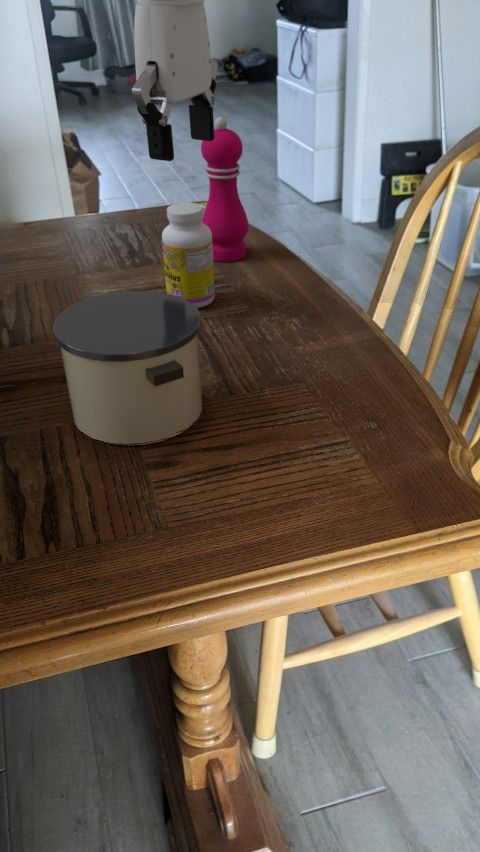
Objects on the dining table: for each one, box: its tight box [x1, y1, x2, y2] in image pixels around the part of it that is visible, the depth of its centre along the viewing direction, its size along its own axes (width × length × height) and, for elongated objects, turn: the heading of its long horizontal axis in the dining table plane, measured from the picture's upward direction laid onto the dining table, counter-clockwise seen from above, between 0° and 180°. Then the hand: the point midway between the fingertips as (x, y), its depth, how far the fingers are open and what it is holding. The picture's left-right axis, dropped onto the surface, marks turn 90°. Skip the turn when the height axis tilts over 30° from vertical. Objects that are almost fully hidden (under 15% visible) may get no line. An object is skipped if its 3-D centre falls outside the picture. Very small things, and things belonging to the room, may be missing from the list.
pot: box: [52, 290, 203, 444], centre depth 82 cm, size 15×17×11 cm
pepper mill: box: [200, 116, 249, 263], centre depth 116 cm, size 7×7×20 cm
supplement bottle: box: [161, 201, 216, 309], centre depth 105 cm, size 7×7×13 cm
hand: (183, 149), depth 97 cm, fingers open, 9 cm apart
